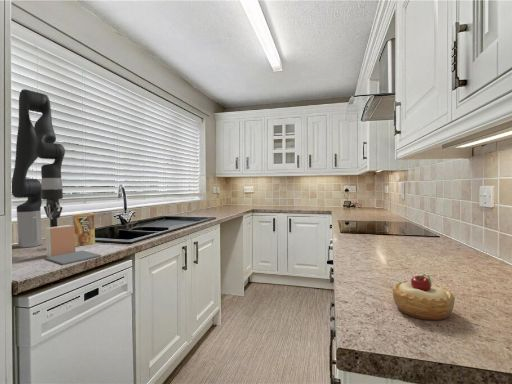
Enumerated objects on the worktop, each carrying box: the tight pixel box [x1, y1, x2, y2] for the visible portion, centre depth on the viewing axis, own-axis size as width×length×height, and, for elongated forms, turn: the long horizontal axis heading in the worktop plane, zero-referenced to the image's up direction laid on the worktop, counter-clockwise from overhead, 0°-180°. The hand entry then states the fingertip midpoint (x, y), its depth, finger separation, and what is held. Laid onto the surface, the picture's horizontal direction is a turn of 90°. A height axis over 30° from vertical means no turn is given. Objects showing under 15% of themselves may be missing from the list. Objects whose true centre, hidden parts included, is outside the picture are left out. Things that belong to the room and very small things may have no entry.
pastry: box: [391, 273, 456, 321], centre depth 63 cm, size 12×12×9 cm
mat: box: [44, 250, 102, 266], centre depth 115 cm, size 16×14×1 cm
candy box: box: [72, 212, 96, 247], centre depth 140 cm, size 9×4×15 cm, turn 129°
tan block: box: [45, 224, 76, 257], centre depth 121 cm, size 5×9×12 cm, turn 147°
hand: (53, 227), depth 124 cm, fingers closed
